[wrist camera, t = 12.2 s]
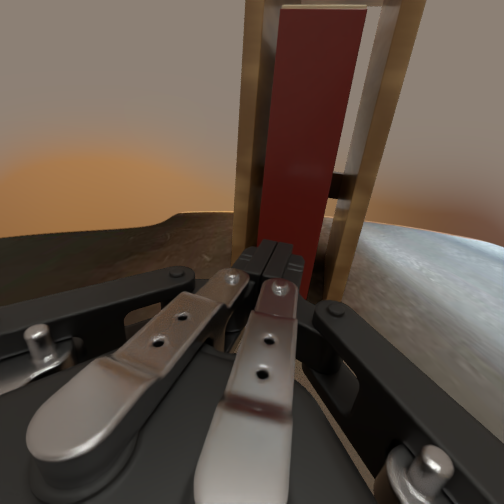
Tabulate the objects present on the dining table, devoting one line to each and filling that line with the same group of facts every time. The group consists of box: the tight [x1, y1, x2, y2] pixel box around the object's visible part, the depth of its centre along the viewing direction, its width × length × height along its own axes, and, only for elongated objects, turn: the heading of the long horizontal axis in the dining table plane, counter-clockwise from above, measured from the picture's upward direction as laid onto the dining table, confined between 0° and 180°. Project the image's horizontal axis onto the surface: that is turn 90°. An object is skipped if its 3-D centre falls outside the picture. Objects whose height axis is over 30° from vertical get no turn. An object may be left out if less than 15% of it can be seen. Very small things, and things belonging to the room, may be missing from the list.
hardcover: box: [257, 5, 367, 300], centre depth 25 cm, size 5×15×21 cm, turn 165°
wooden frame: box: [231, 0, 426, 302], centre depth 25 cm, size 10×15×27 cm, turn 164°
